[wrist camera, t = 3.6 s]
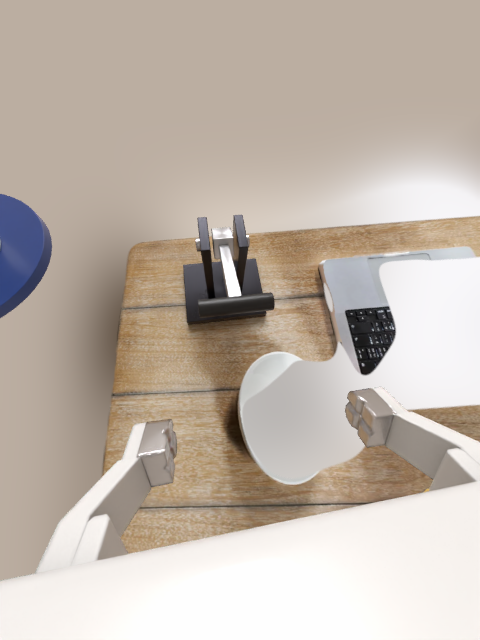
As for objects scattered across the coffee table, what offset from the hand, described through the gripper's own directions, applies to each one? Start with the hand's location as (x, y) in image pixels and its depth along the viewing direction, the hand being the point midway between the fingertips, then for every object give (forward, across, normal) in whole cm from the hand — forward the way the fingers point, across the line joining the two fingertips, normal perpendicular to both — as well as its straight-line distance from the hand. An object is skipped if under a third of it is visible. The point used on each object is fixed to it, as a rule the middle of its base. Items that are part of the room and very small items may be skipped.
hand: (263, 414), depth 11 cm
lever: (+16, 0, -2) cm, 16 cm away
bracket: (+29, 0, +3) cm, 29 cm away
